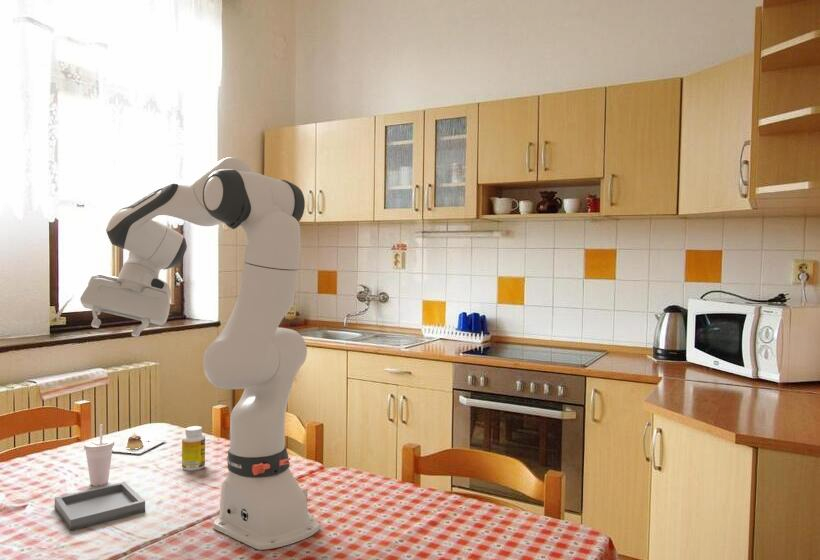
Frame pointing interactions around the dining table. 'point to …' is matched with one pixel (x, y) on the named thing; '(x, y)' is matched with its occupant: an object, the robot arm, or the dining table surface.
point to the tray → (98, 505)
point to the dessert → (136, 443)
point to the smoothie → (99, 459)
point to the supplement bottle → (193, 449)
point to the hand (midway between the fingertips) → (114, 331)
